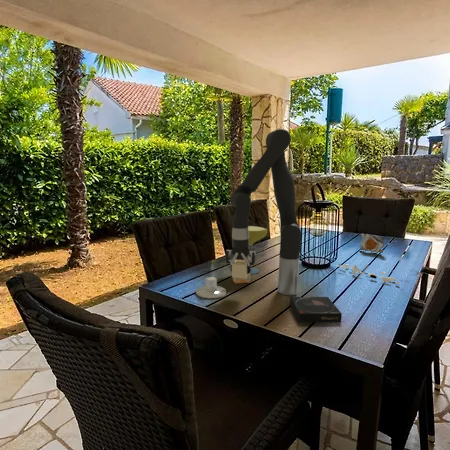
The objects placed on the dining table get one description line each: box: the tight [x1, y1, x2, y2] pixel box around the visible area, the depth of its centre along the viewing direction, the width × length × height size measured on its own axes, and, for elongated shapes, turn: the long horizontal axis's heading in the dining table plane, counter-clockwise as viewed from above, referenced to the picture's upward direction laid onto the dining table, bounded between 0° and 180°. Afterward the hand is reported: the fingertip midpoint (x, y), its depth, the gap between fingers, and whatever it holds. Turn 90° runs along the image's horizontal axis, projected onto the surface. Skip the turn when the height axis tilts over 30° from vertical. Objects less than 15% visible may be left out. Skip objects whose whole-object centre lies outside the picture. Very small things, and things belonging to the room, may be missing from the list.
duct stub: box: [195, 276, 227, 300], centre depth 158 cm, size 14×14×7 cm
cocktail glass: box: [248, 224, 268, 275], centre depth 188 cm, size 18×18×25 cm
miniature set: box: [335, 263, 400, 285], centre depth 186 cm, size 6×35×12 cm
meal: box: [359, 233, 385, 253], centre depth 230 cm, size 15×4×13 cm, turn 53°
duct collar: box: [231, 260, 249, 278], centre depth 154 cm, size 7×7×6 cm
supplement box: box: [232, 255, 252, 285], centre depth 173 cm, size 8×5×13 cm, turn 105°
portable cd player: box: [289, 296, 342, 323], centre depth 140 cm, size 16×17×4 cm
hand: (240, 272), depth 154 cm, fingers closed on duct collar, 6 cm apart
